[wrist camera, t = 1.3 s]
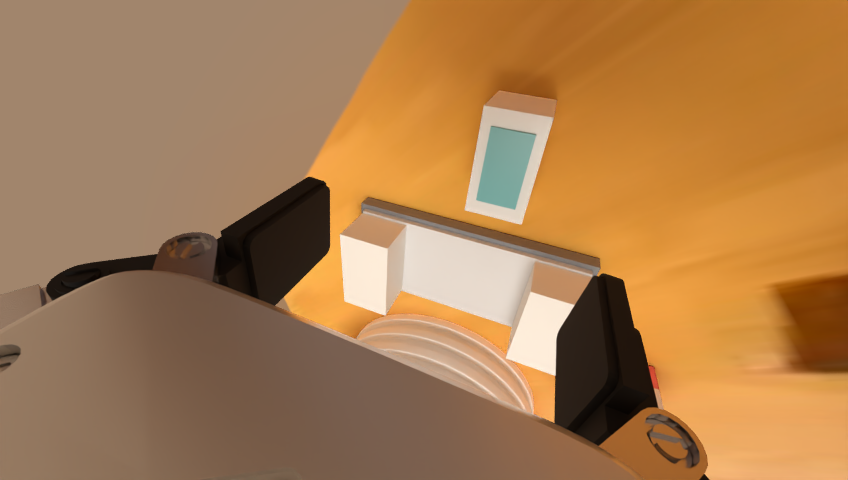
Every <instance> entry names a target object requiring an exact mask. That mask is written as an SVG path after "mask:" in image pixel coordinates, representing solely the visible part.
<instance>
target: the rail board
mask: <svg viewBox="0 0 848 480" xmlns="http://www.w3.org/2000/svg"><path fill="white" fill-rule="evenodd" d="M361 204H362V214H361V215H360V216H359V217H358V218H357V219H356V220H355V221H354V222H353V223H352V224H351V225H350V226H348V227H347V228H346V229H345V230H344V231H343V232H342V233H341V234H340V242H341V256H342V271H343V286H344V300H345V302H348V303H351V304H354V305H357V306H359V307H362V308H365V309H368V310H371V311H374V312H376V313H379V314H382V315H385V316H386V314H387V313H388V311H389V309H390V308H391V306H392V305H393V303H394V301H395V300H396V298H397V297H398V295H399V293H400V292H401V291H404V292H407V293H410V294H413V295H416V296H419V297H423V298H426V299H429V300H432V301H435V302H438V303H441V304H444V305H447V306H450V307H453V308H456V309H459V310H462V311H465V312H468V313H471V314H474V315H477V316H480V317H483V318H486V319H489V320H492V321H495V322H498V323H501V324H504V325H507V326H510V327H512V329H511V334H510V339H509V344H508V349H507V355H506V359H509V360H512V361H515V362H518V363H520V364H523V365H526V366H529V367H532V368H535V369H537V370H540V371H543V372H546V373H549V374H552V375H554V376H556V338H557V334H558V331H559V329H560V328H561V326H562V324H563V323H564V321H565V320H566V318H567V316H568V315H569V313H570V312H571V310H572V309H573V307H574V305H575V304H576V302H577V301H578V299H579V297H580V296H581V294H582V293H583V291H584V289H585V288H586V286H587V285H588V283H589V282H590V280H591V278H592V277H593V276H597V274H598V272H599V270H600V259H599V258H595V257H591V256H587V255H584V254H580V253H576V252H572V251H569V250H565V249H561V248H557V247H554V246H550V245H546V244H542V243H538V242H535V241H531V240H527V239H523V238H520V237H516V236H512V235H508V234H505V233H501V232H497V231H493V230H490V229H486V228H482V227H478V226H475V225H471V224H467V223H463V222H459V221H456V220H452V219H448V218H444V217H441V216H437V215H433V214H429V213H426V212H422V211H418V210H414V209H411V208H407V207H403V206H399V205H396V204H392V203H388V202H384V201H380V200H377V199H373V198H369V197H368V198H367V199H366V200H364V201H363V202H362V203H361Z"/></svg>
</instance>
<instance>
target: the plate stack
mask: <svg viewBox="0 0 848 480" xmlns="http://www.w3.org/2000/svg"><path fill="white" fill-rule="evenodd" d="M356 339H357V340H359V341H362V342H364V343H367V344H369V345H372V346H374V347H376V348H379V349H381V350H384V351H386V352H388V353H391V354H393V355H396V356H398V357H400V358H403V359H405V360H408V361H410V362H412V363H415V364H417V365H420V366H422V367H424V368H427V369H429V370H432V371H434V372H436V373H439V374H441V375H443V376H446V377H448V378H451V379H453V380H455V381H458V382H460V383H462V384H465V385H467V386H470V387H472V388H474V389H477V390H479V391H481V392H484V393H486V394H489V395H491V396H493V397H496V398H498V399H500V400H503V401H505V402H507V403H510V404H512V405H514V406H516V407H519V408H521V409H523V410H525V411H528V412H530V413H532V414H533V412H534V399H533V394H532V391H531V388H530V386H529V383H528V381H527V380H526V378H525V376H524V375H523V373H522V372H521V370H520V369H519V368H518V367H517V365H516V364H515V363H514V362H513V361H512V360H509V359H506V354H505V353H504V352H503V351H501V350H500V349H499V348H498V347H496V346H495V345H494V344H492V343H491V342H489V341H488V340H486V339H485V338H483V337H482V336H480V335H478V334H476V333H475V332H473V331H471V330H469V329H467V328H464V327H462V326H460V325H458V324H455V323H452V322H449V321H446V320H443V319H440V318H436V317H432V316H426V315H420V314H393V315H387V316H384V317H380V318H378V319H376V320H374V321H372V322H370V323H369V324H367V325H366V326H365V327H364V328H363V329H362V330H361V332H360V333H359V335H358V336H357V338H356Z"/></svg>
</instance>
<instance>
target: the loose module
mask: <svg viewBox="0 0 848 480" xmlns="http://www.w3.org/2000/svg"><path fill="white" fill-rule="evenodd" d="M556 103H557V100H555V99H549V98H543V97H537V96H531V95H524V94H518V93H512V92H506V91H500V90H499V91H498V92H497V93H496V94H495V95H494V96H493V97H492V98H491V99H490V100H489V101H488V102H487V103H486V104H485V105H484V108H483V113H482V119H481V124H480V130H479V135H478V141H477V146H476V151H475V157H474V162H473V168H472V173H471V179H470V184H469V190H468V195H467V201H466V206H465V210H466V211H470V212H474V213H478V214H482V215H485V216H489V217H493V218H497V219H501V220H505V221H509V222H513V223H517V224H522V221H523V218H524V215H525V211H526V208H527V205H528V201H529V198H530V195H531V191H532V188H533V185H534V182H535V178H536V175H537V172H538V168H539V165H540V162H541V159H542V155H543V152H544V149H545V145H546V142H547V139H548V136H549V132H550V129H551V126H552V122H553V119H554V114H555V109H556Z"/></svg>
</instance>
